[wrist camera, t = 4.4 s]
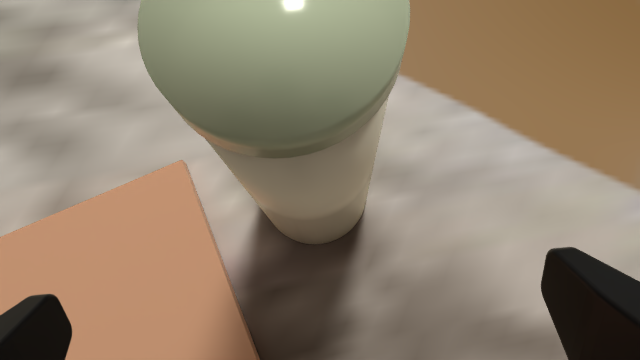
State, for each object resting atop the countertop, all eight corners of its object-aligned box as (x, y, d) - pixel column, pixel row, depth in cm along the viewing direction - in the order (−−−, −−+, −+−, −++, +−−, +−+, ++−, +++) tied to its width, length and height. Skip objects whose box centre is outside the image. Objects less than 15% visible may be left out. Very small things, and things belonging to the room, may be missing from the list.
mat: (276, 403, 18) (274, 406, 18) (10, 528, 17) (-1, 536, 17) (186, 163, 21) (181, 159, 21) (-45, 262, 20) (-56, 261, 20)
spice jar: (388, 174, 21) (458, -34, 8) (333, 267, 20) (318, 192, 7) (297, 124, 22) (235, -134, 9) (241, 211, 20) (82, 56, 8)
